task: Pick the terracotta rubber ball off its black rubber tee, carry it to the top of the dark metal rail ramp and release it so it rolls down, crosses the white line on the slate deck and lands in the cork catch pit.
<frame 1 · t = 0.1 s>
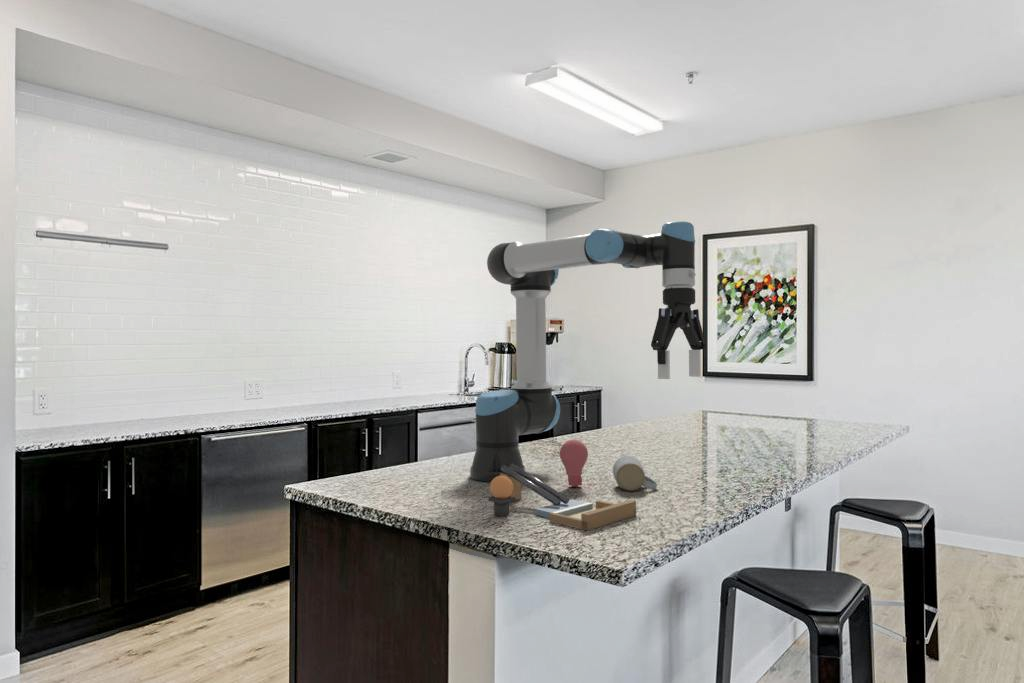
hand: (679, 377, 160), 28 cm above the worktop, fingers open, 13 cm apart
deck: (564, 511, 146), on the worktop
ceramic mug: (634, 489, 169), on the worktop
tee: (501, 514, 144), on the worktop
light bulb: (574, 487, 171), on the worktop
catch pit: (593, 518, 140), on the worktop
ball: (501, 487, 144), point 6 cm above the worktop, touching tee
ramp: (534, 505, 152), on the worktop
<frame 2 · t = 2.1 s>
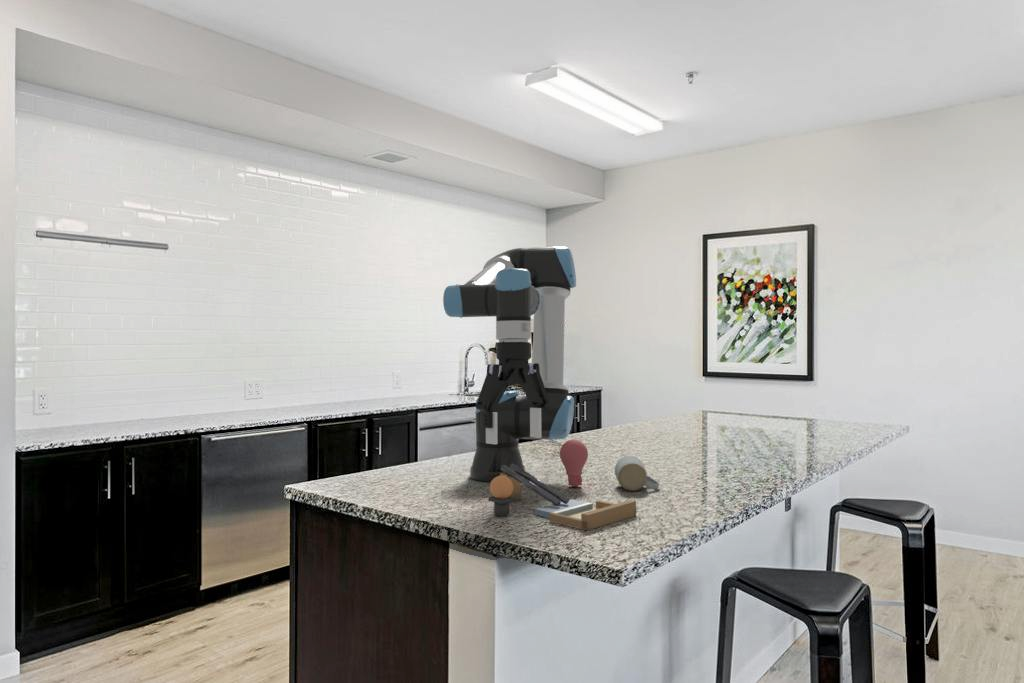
hand: (514, 440, 144), 16 cm above the worktop, fingers open, 13 cm apart
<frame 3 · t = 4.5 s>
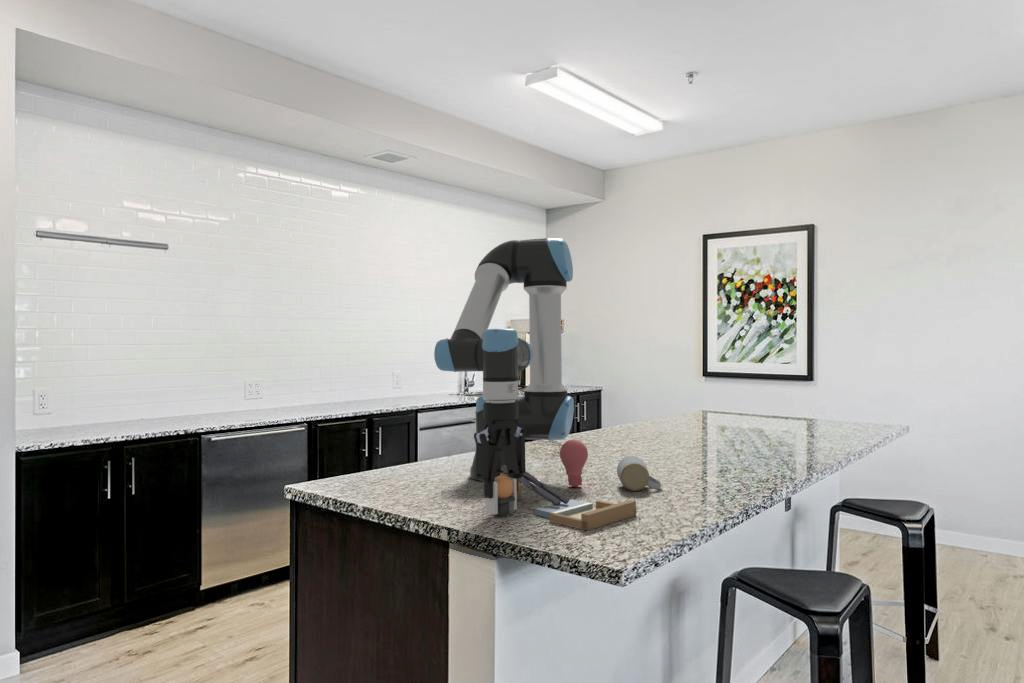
hand: (501, 510, 144), 1 cm above the worktop, fingers closed on ball, 5 cm apart
ball: (501, 487, 144), point 6 cm above the worktop, touching gripper, tee
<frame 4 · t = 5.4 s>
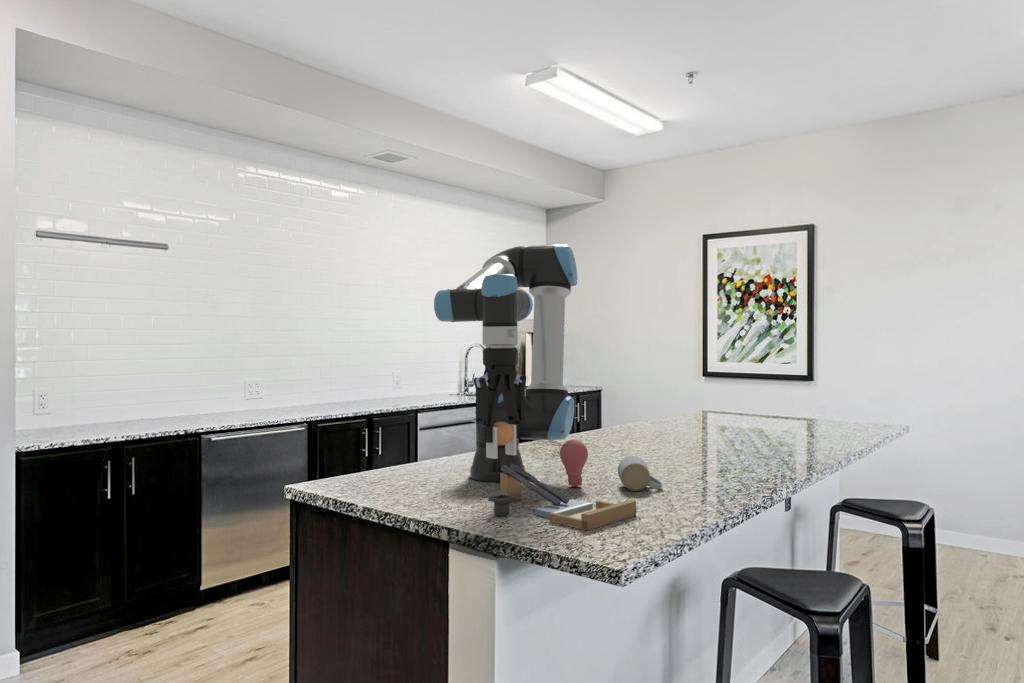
hand: (501, 456, 144), 12 cm above the worktop, fingers closed on ball, 5 cm apart
ball: (501, 433, 144), point 17 cm above the worktop, touching gripper
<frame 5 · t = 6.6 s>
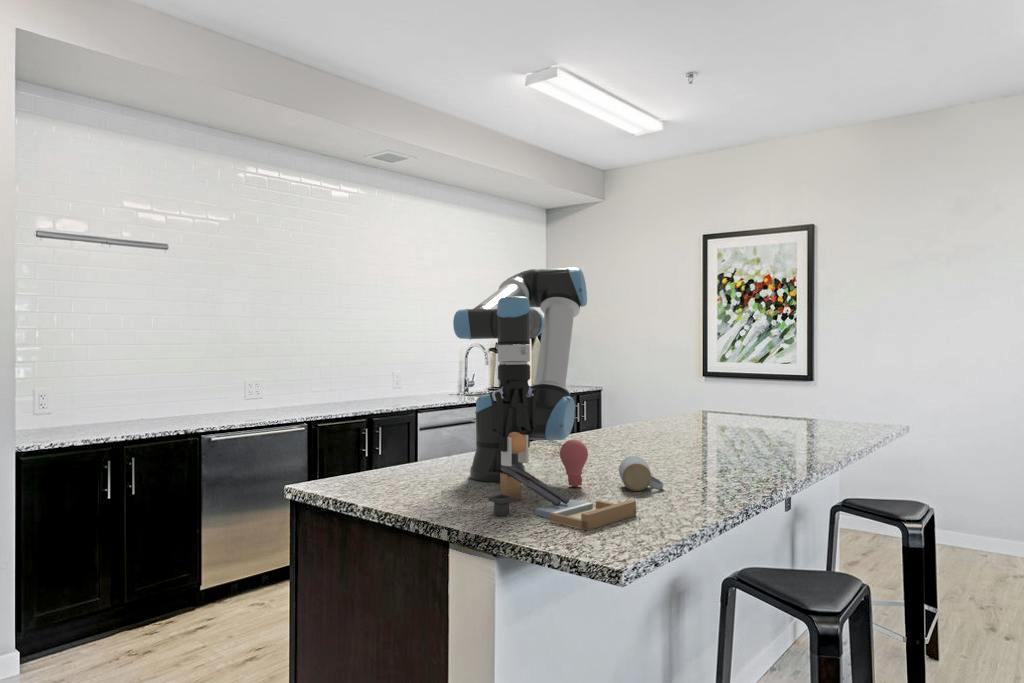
hand: (514, 463, 156), 9 cm above the worktop, fingers closed on ball, 5 cm apart
ball: (514, 442, 156), point 13 cm above the worktop, touching gripper
when the fingers open (9 cm above the worktop, at t = 6.7 s): ball drops 11 cm and tips over, resting on catch pit.
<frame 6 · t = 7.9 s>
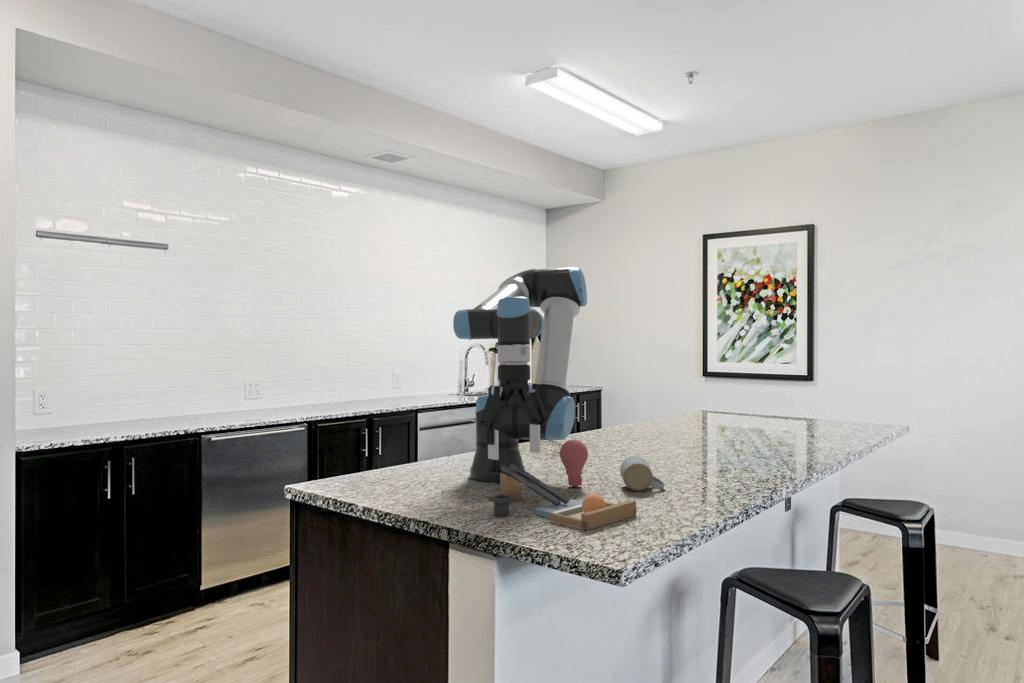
hand: (514, 455, 156), 11 cm above the worktop, fingers open, 13 cm apart
ball: (594, 506, 139), point 3 cm above the worktop, tilted 157°, touching catch pit
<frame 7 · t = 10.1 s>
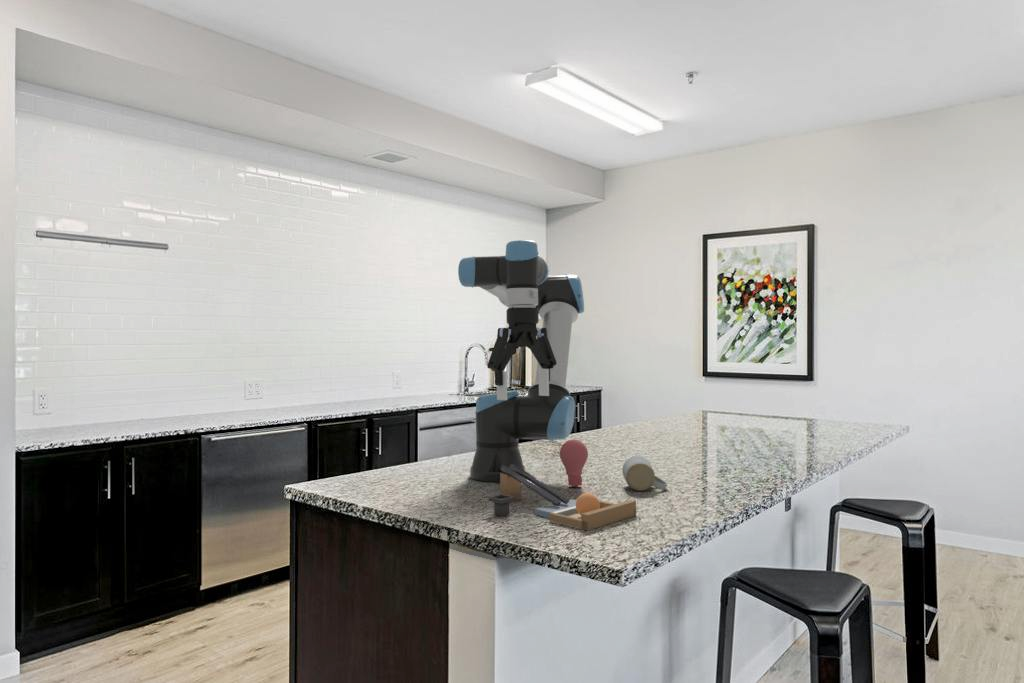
hand: (523, 397, 158), 24 cm above the worktop, fingers open, 13 cm apart
ball: (587, 505, 140), point 3 cm above the worktop, tilted 119°, touching catch pit
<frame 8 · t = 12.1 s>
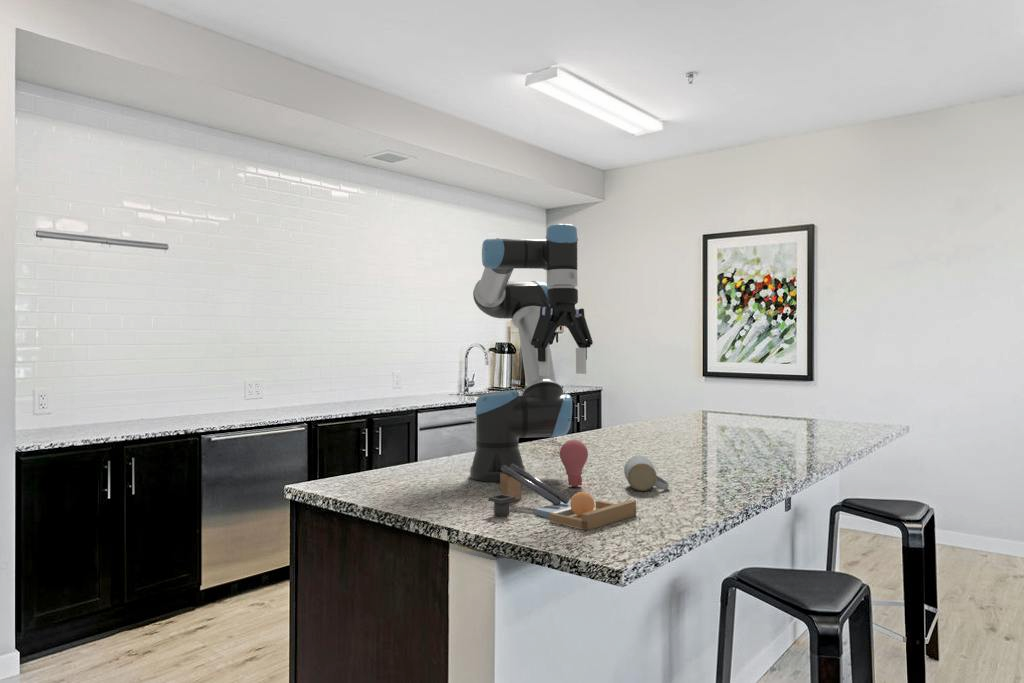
hand: (563, 374, 166), 29 cm above the worktop, fingers open, 13 cm apart
ball: (582, 504, 141), point 3 cm above the worktop, tilted 85°, touching catch pit
at the end: ball inside the target area (2.5 cm from its centre), point 2.7 cm above the worktop; the gripper is holding nothing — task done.
